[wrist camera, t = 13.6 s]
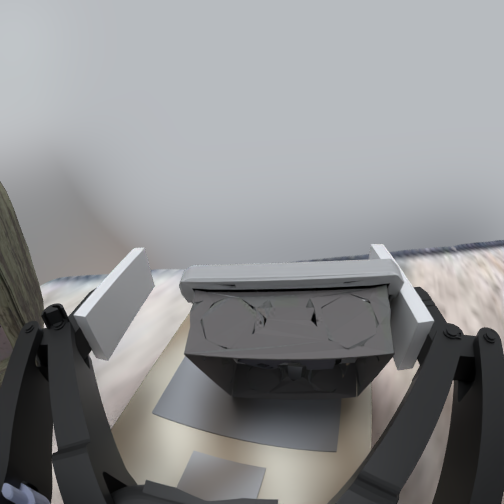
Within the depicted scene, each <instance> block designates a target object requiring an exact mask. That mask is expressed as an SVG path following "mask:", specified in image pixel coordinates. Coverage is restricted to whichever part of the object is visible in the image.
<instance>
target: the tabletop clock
mask: <svg viewBox="0 0 504 504" xmlns="http://www.w3.org/2000/svg"><path fill="white" fill-rule="evenodd" d="M43 311H44V305H43V298H42V294H41V290H40V286H39V282H38V279H37V276H36V273H35V270H34V267H33V264H32V260H31V256H30V253H29V249H28V246H27V244H26V241H25V239H24V236H23V233H22V231H21V228H20V225H19V222H18V219H17V217H16V214H15V211H14V208H13V206H12V203H11V201H10V199H9V196H8V194H7V192H6V190H5V188H4V187H3V185H2V184H1V182H0V388H1V385H2V381H3V378H4V375H5V371H6V368H7V365H8V362H9V359H10V357H11V354H12V351H13V348H14V346H15V343H16V340H17V338H18V335H19V333H20V331H21V329H22V327H23V326H24V325H25V324H26V323H28V322H31V321H37V322H38V323H39V325H40V327H41V329H42V328H43V327H44V321H43V319H42V317H41V314H42V312H43ZM35 362H36V366H38V361H37V360H36V359H35Z"/></svg>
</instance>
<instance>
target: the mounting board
mask: <svg viewBox="0 0 504 504" xmlns="http://www.w3.org/2000/svg"><path fill="white" fill-rule="evenodd" d="M189 329H190V313H189V314H188V316H187V317H186V319H185V320H184V321H183V323H182V324H181V326H180V327H179V329H178V330H177V332H176V333H175V335H174V336H173V338H172V339H171V340H170V342H169V343H168V345H167V346H166V348H165V349H164V351H163V352H162V354H161V355H160V357H159V358H158V360H157V361H156V363H155V364H154V366H153V367H152V369H151V370H150V372H149V373H148V375H147V376H146V378H145V379H144V380H143V382H142V383H141V385H140V386H139V388H138V390H137V391H136V393H135V394H134V396H133V397H132V399H131V400H130V402H129V403H128V405H127V406H126V408H125V409H124V411H123V412H122V414H121V415H120V417H119V418H118V420H117V421H116V423H115V424H114V426H113V428H112V429H111V432H112V435H113V438H114V440H115V443H116V445H117V448H118V451H119V453H120V455H121V458H122V460H123V463H124V465H125V467H126V469H127V471H128V472H129V474H130V475H131V476H132V477H133V479H134V480H135V482H136V483H137V485H144V484H145V481H146V480H149V481H153V482H156V483H160V484H164V485H168V486H172V487H175V488H178V489H180V490H182V491H184V492H186V493H188V494H191V495H193V496H195V497H198V498H200V499H203V500H206V501H218V500H230V499H239V498H251V499H278V504H327V503H328V502H329V501H330V500H331V499H332V498H333V497H334V496H335V495H336V494H337V493H338V492H339V491H340V489H341V488H342V487H343V486H344V485H345V484H346V482H347V481H348V480H349V479H350V478H351V476H352V475H353V474H354V473H355V471H356V470H357V469H358V467H359V466H360V465H361V464H362V462H363V461H364V460H365V458H366V457H367V455H368V454H369V453H370V451H371V438H372V393H371V383H370V384H369V385H368V386H367V387H366V388H365V389H364V390H363V392H362V393H361V394H360V395H359V396H358V397H357V381H356V397H352V398H338V399H312V400H284V399H258V398H243V397H232V396H233V389H232V395H231V396H230V395H229V394H228V393H227V392H225V391H224V390H223V389H222V388H221V387H219V386H218V385H217V384H216V383H215V382H214V381H212V380H211V379H210V378H209V377H208V376H207V375H206V374H205V373H203V372H202V371H201V370H200V369H199V368H198V367H197V366H196V365H195V364H193V363H192V362H191V361H190V360H189V359H188V358H187V357H186V356H185V355H184V351H185V346H186V342H187V338H188V333H189ZM348 364H350V363H346V365H348ZM244 365H247V364H244ZM287 367H288V375H289V378H290V379H293V380H297V379H299V378H301V373H302V368H303V367H294V366H287ZM278 368H279V367H278ZM279 371H280V382H281V381H282V373H281V369H280V368H279ZM311 373H312V370H310V373H309V376H308V379H309V382H310V379H311ZM343 377H344V375H343V373H342V378H343ZM280 382H279V383H280ZM248 383H249V381H248ZM310 384H311V382H310ZM233 386H234V383H233ZM315 390H316V391H319V390H317V389H315ZM332 391H333V390H332ZM332 391H331V392H332ZM266 393H269V392H266Z"/></svg>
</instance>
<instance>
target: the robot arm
mask: <svg viewBox="0 0 504 504" xmlns="http://www.w3.org/2000/svg"><path fill="white" fill-rule="evenodd" d="M371 259H392V260H393V261H394V262H395V263H396V261H395V260H394V258H393V257H392V256H391V254H390V253H389V252H388V250H387V249H386V248H385V246H384V245H383V244H371V247H370V254H369V260H371ZM396 264H397V263H396ZM397 265H398V264H397ZM398 267H399V266H398ZM399 269H400V272H401V275H402V278H403V280H404V284H403V286H402V288H401V290H400V292H399V293H398V295H397V296H396V298H393V300H392V302H391V304H390V309H391V315H390V327H391V332H392V339H393V345H394V352H395V355H394V356H393V358H394V361H395V364H396V367H397V370H404V369H410V368H413V366H414V364H415V362H416V360H417V359H418V362H419V364H420V367H419V369H418V370H417V372H416V374H415V376H414V378H413V379H412V383H411V385H410V387H409V389H408V391H407V393H406V394H405V396H404V398H403V400H402V402H401V404H400V405H399V407H398V409H397V411H396V412H395V414H394V416H393V417H392V419H391V421H390V422H389V424H388V426H387V427H386V429H385V430H384V432H383V434H382V435H381V437H380V438H379V440H378V441H377V443H376V444H375V446H374V447H373V448H372V450H371V451H370V453H369V454H368V455H367V457H366V458H365V460H364V461H363V462H362V464H361V465H360V466H359V467H358V469H357V470H356V471H355V473H354V474H353V475H352V476H351V478H350V479H349V480H348V481H347V482H346V484H345V485H344V486H343V487H342V488H341V489H340V491H339V492H338V493H337V494H336V495H335V496H334V497H333V498H332V499H331V500H330V501H329V502H328V503H327V504H397V503H398V500H399V493H400V491H401V489H402V488H403V486H404V485H405V483H406V481H407V480H408V478H409V476H410V475H411V473H412V471H413V470H414V468H415V466H416V464H417V462H418V461H419V459H420V457H421V455H422V453H423V451H424V449H425V447H426V445H427V443H428V441H429V439H430V437H431V435H432V433H433V430H434V428H435V426H436V424H437V421H438V419H439V416H440V414H441V411H442V409H443V406H444V404H445V401H446V398H447V396H448V393H449V390H450V387H451V384H452V381H453V380H454V391H453V404H452V414H451V423H450V430H449V436H448V442H447V448H446V453H445V458H444V463H443V467H442V471H441V475H440V479H439V483H438V486H437V490H436V493H435V496H434V499H433V502H432V504H501V501H502V497H503V492H504V354H503V348H502V343H501V339H500V336H499V335H498V334H497V332H496V331H494V330H493V329H490V328H485V327H484V328H481V329H480V330H479V331H478V333H477V335H476V336H469V335H464V334H463V332H462V330H461V329H460V328H459V327H457V326H456V325H454V324H450V323H447V322H446V321H445V319H444V317H443V316H442V314H441V313H440V311H439V310H438V308H437V306H435V303H434V302H433V301H432V299H431V297H430V296H429V295H428V293H427V292H426V291H424V290H423V289H422V288H421V287H413V286H412V285H411V283H410V282H409V280H408V279H407V277H406V276H405V274H404V273H403V271H402V270H401V268H400V267H399ZM154 287H155V285H154V282H153V278H152V274H151V271H150V267H149V263H148V259H147V255H146V251H145V248H134V249H133V250H132V251H131V252H130V253H129V254H128V255H127V256H126V257H125V258H124V259H123V260H122V261H121V262H120V263H119V264H118V265H117V267H116V268H115V269H114V270H113V271H112V272H111V273H110V274H109V275H108V276H107V277H106V278H105V279H104V280H103V282H102V283H101V284H100V285H99V286H98V287H97V288H95V289H94V290H92V291H91V292H89V294H88V295H87V296H86V297H85V298H84V299H83V300H82V302H81V303H80V304H79V305H78V306H77V307H76V308H75V310H74V311H73V312H72V313H71V314H70V315H69V317H68V316H67V314H66V312H65V310H64V308H63V305H61V304H52V305H50V306H48V307H47V308H46V309H44V311H43V312H42V314H41V317H42V319H43V321H44V323H45V325H46V327H47V328H42V329H41V327H40V325H39V323H38V322H37V321H31V322H28V323H26V324H25V325H24V326H23V327H22V329H21V331H20V333H19V335H18V338H17V340H16V343H15V346H14V348H13V351H12V354H11V357H10V359H9V362H8V365H7V368H6V371H5V375H4V378H3V381H2V385H1V388H0V504H51V499H52V463H53V467H54V471H55V475H56V479H57V483H58V486H59V490H60V493H61V496H62V499H63V502H64V504H278V499H251V498H239V499H230V500H218V501H206V500H203V499H200V498H198V497H195V496H193V495H191V494H188V493H186V492H184V491H182V490H180V489H178V488H175V487H172V486H168V485H164V484H160V483H156V482H153V481H149V480H146V481H145V484H144V485H137V483H136V482H135V480H134V479H133V477H132V476H131V475H130V474H129V472H128V471H127V469H126V467H125V465H124V463H123V460H122V458H121V455H120V453H119V451H118V448H117V445H116V443H115V440H114V438H113V435H112V432H111V429H110V426H109V423H108V420H107V417H106V414H105V411H104V408H103V404H102V401H101V397H100V394H99V390H98V386H97V383H96V379H95V374H94V370H93V366H92V361H91V358H90V356H89V355H88V354H89V353H90V351H91V350H92V351H93V353H94V355H95V356H96V358H98V359H103V360H107V361H108V360H109V358H110V357H111V355H112V353H113V352H114V350H115V348H116V347H117V345H118V343H119V342H120V340H121V338H122V337H123V335H124V333H125V332H126V330H127V328H128V327H129V325H130V324H131V322H132V320H133V319H134V317H135V316H136V314H137V313H138V311H139V309H140V308H141V306H142V305H143V303H144V302H145V300H146V299H147V297H148V296H149V294H150V293H151V291H152V290H153V288H154ZM35 359H36V360H37V361H38V366H36V362H35ZM53 424H54V430H55V436H56V441H57V446H58V451H57V452H55V453H53V454H52V433H53Z"/></svg>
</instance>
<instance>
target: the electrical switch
mask: <svg viewBox="0 0 504 504" xmlns="http://www.w3.org/2000/svg"><path fill="white" fill-rule="evenodd" d="M403 284H404V280H403V278H402V275H401V272H400V269H399V267H398V265H397V264H396V263H395V262H394V261H393V260H392V259H371V260H348V261H323V262H295V263H265V264H230V265H192V266H190V267H189V268H187V269H186V270H184V273H183V276H182V278H181V281H180V284H179V287H180V290H181V293H182V295H183V297H184V298H185V299H186V300H187V302H188V303H190V302H192V303H193V306H192V308H191V311H190V329H189V333H188V338H187V342H186V346H185V351H184V355H185V356H186V357H187V358H188V359H189V360H190V361H191V362H192V363H193V364H195V365H196V366H197V367H198V368H199V369H200V370H201V371H202V372H203V373H205V374H206V375H207V376H208V377H209V378H210V379H211V380H212V381H214V382H215V383H216V384H217V385H218V386H219V387H221V388H222V389H223V390H224V391H225V392H227V393H228V394H229V395H230V396H231V395H232V389H233V396H232V397H243V398H258V399H284V400H312V399H338V398H352V397H356V381H357V397H358V396H359V395H360V394H361V393H362V392H363V390H364V389H365V388H366V387H367V386H368V385H369V384H370V383H371V382H372V381H373V379H374V378H375V377H376V376H377V375H378V374H379V373H380V371H381V370H382V369H383V368H384V367H385V366H386V364H387V363H388V362H389V361H390V360H391V358H392V357H393V356H394V355H395V352H394V345H393V339H392V332H391V327H390V315H391V309H390V304H391V302H392V300H393V298H396V296H397V295H398V293H399V292H400V290H401V288H402V286H403ZM346 363H350V364H348V365H346ZM244 364H247V365H244ZM287 366H294V367H303V368H302V373H301V378H299V379H297V380H293V379H290V378H289V375H288V367H287ZM278 367H279V368H280V369H281V373H282V381H281V382H280V371H279V368H278ZM310 370H312V373H311V379H310V382H311V384H310V382H309V379H308V376H309V373H310ZM342 373H343V375H344V377H343V378H342ZM248 381H249V383H248ZM279 382H280V383H279ZM233 383H234V386H233ZM315 389H317V390H319V391H316V390H315ZM332 390H333V391H332ZM331 391H332V392H331ZM266 392H269V393H266Z"/></svg>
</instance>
